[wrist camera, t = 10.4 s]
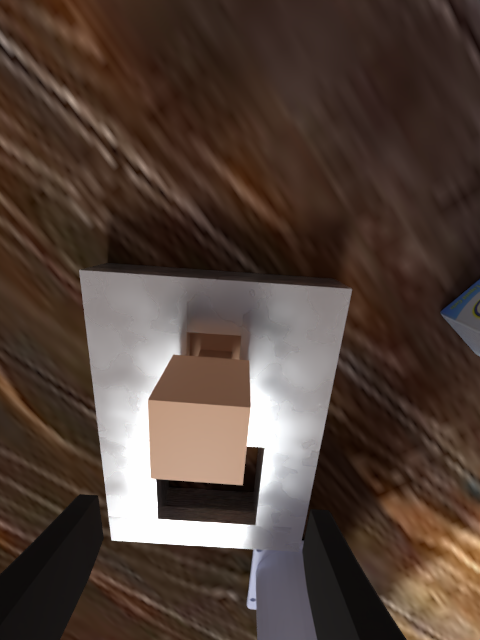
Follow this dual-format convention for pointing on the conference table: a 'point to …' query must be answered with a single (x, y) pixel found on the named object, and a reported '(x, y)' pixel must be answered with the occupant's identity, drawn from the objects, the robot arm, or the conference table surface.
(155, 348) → the keyhole plate
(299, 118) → the conference table surface
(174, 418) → the headed stud
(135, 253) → the conference table surface
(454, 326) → the medicine box
